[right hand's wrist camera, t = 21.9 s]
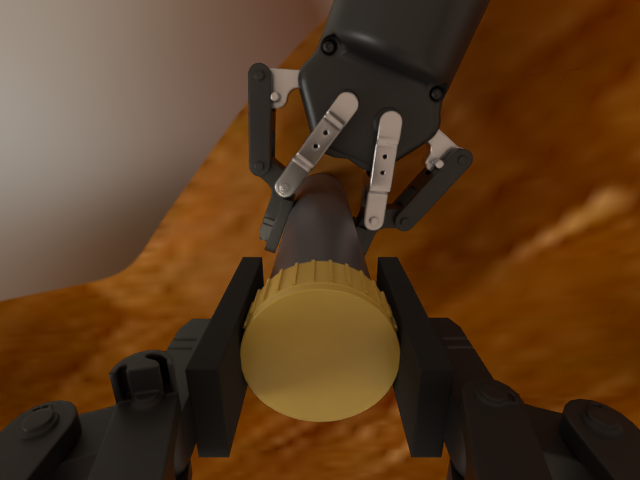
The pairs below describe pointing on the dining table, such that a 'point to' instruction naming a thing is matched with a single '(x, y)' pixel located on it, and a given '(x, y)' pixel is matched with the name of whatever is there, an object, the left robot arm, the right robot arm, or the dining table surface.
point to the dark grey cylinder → (320, 227)
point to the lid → (320, 342)
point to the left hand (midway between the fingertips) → (305, 258)
